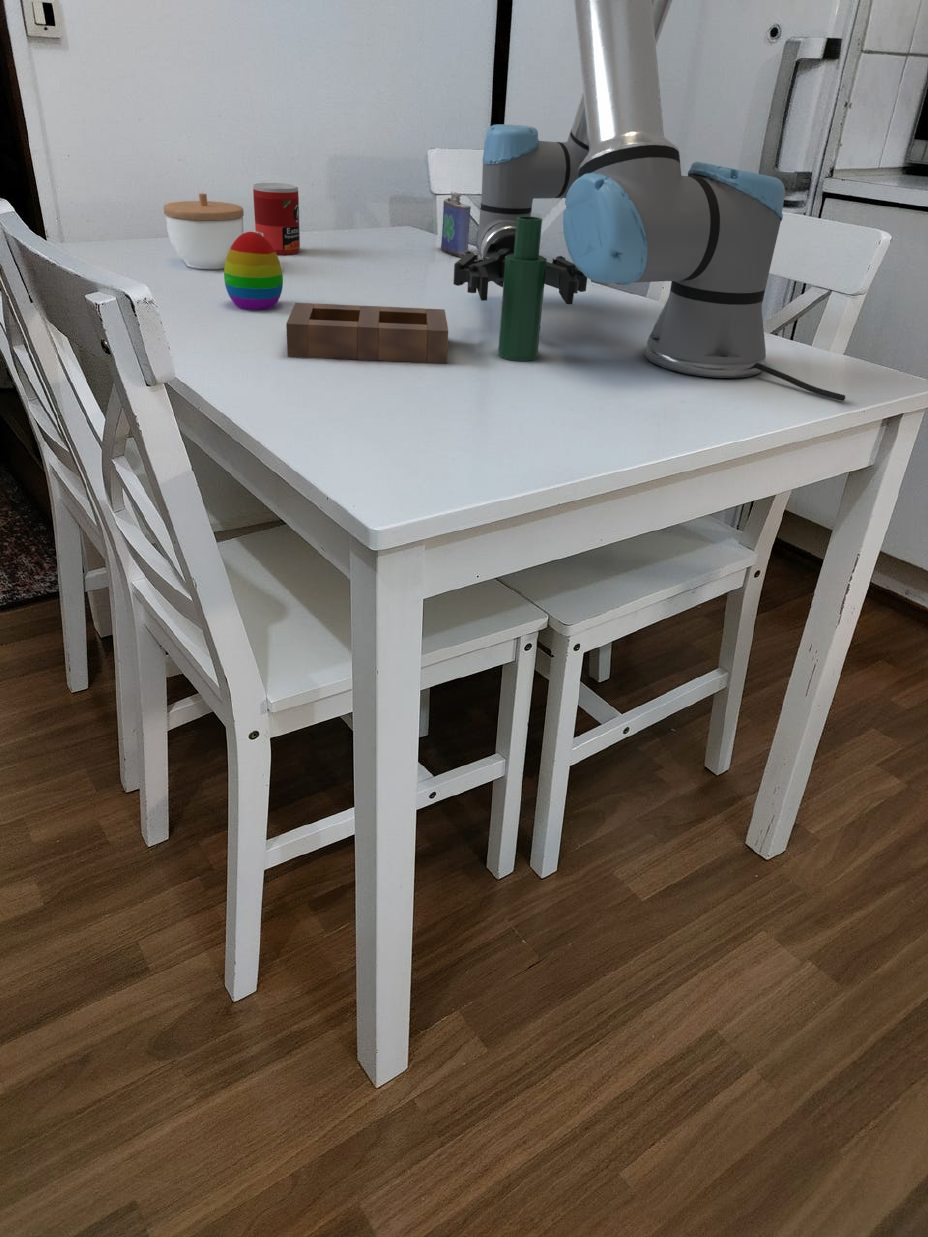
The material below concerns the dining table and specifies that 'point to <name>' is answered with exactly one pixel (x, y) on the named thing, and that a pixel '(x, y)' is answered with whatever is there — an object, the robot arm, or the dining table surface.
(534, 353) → the bottle
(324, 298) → the dining table surface
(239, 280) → the decorative egg
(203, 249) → the lidded bowl
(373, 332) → the rack
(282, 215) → the canned food
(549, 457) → the dining table surface
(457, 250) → the flask
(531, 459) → the dining table surface
